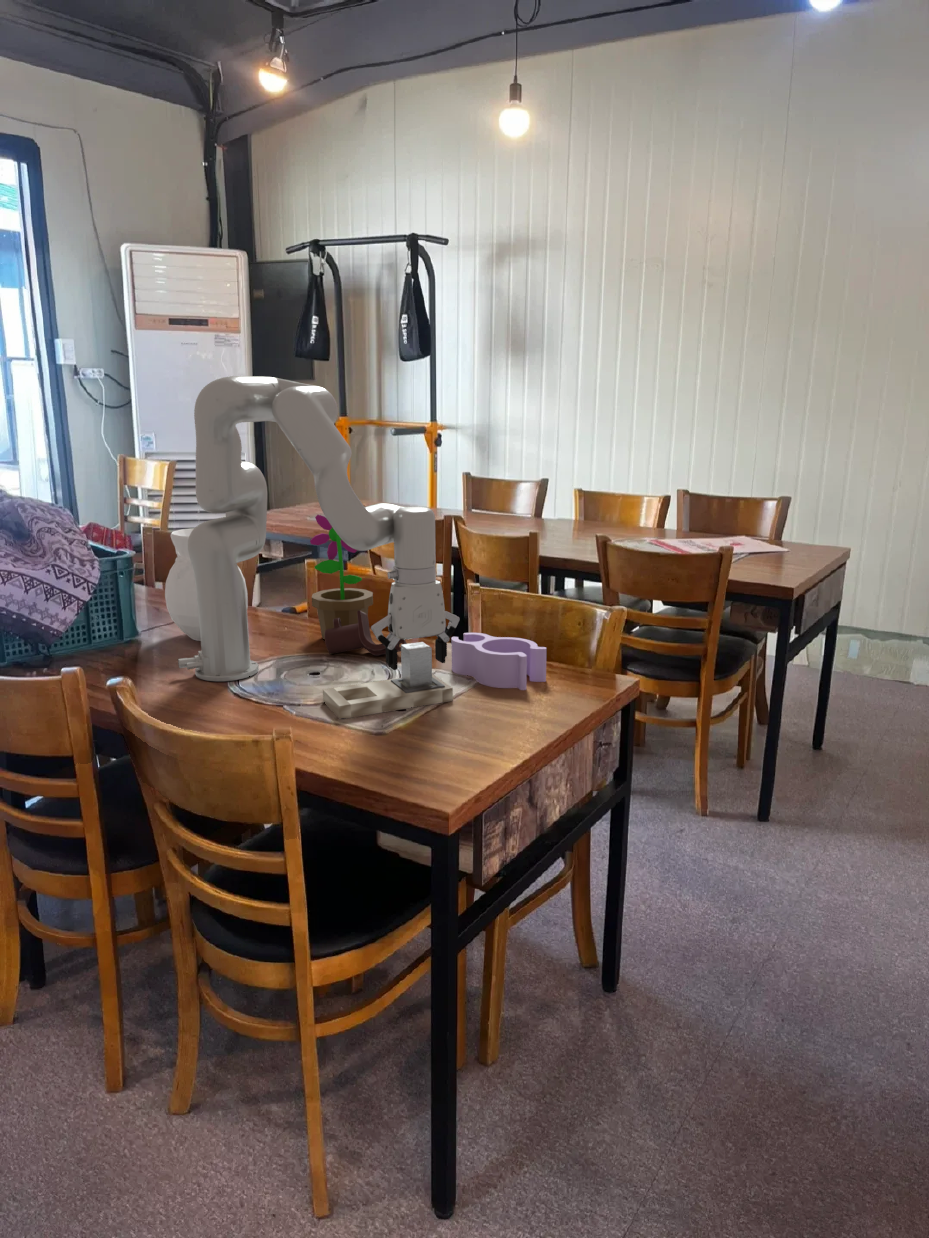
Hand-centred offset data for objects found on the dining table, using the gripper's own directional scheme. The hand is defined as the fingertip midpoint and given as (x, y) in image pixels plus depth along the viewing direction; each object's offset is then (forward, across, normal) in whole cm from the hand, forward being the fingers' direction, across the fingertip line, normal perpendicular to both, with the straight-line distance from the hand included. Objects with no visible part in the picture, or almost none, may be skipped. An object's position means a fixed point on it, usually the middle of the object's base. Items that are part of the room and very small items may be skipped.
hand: (416, 664), depth 172 cm
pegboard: (+6, -6, 0) cm, 9 cm away
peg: (+6, 0, 0) cm, 6 cm away
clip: (+7, +19, +5) cm, 21 cm away
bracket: (+7, +1, +31) cm, 32 cm away
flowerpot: (+7, +1, +46) cm, 46 cm away
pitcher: (+7, -27, +61) cm, 67 cm away
